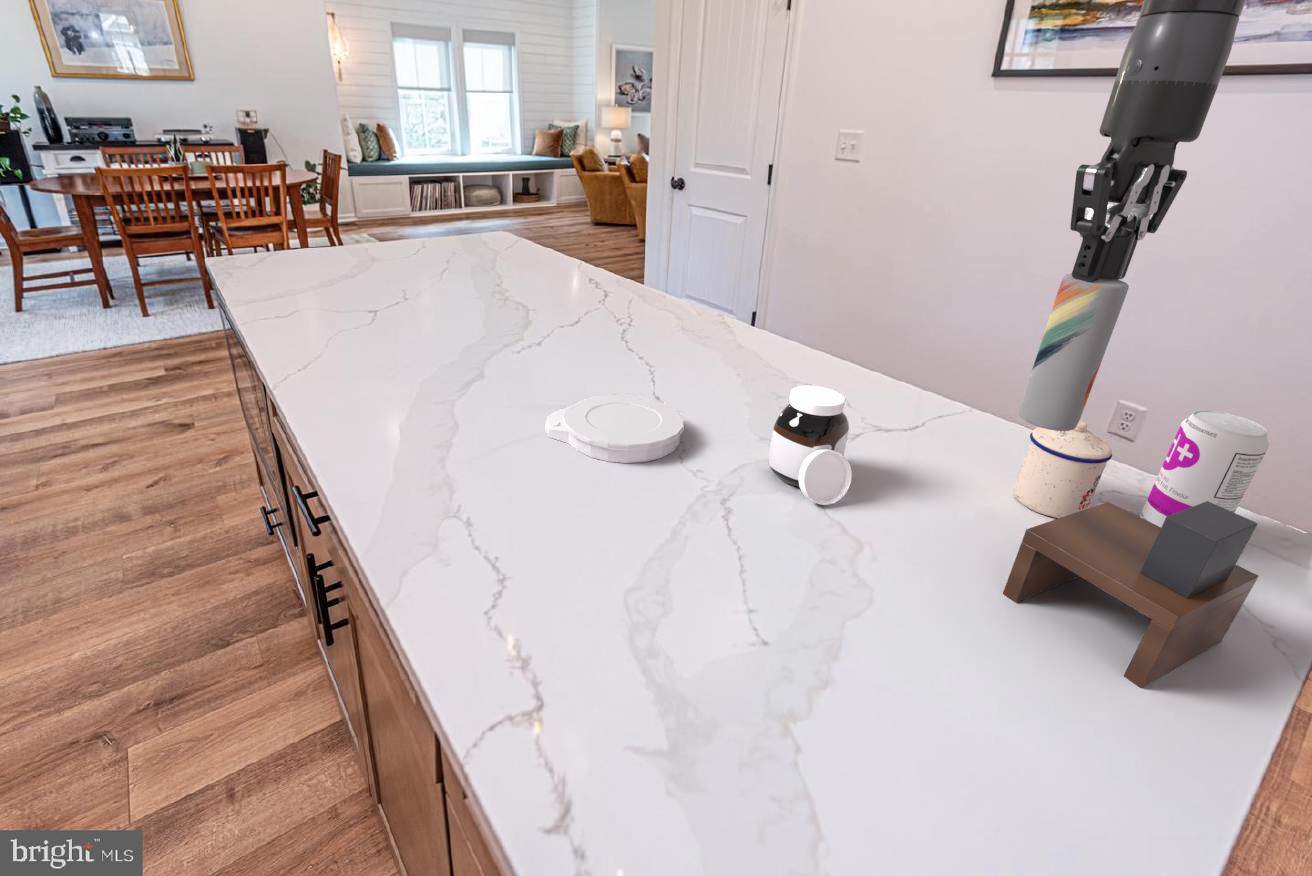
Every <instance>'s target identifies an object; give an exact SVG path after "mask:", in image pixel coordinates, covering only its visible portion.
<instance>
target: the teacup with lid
mask: <svg viewBox="0 0 1312 876" xmlns="http://www.w3.org/2000/svg"><path fill="white" fill-rule="evenodd" d="M1087 428H1088V424H1087V422H1085V420H1082V419H1080V420H1079V423H1078V425H1077V427H1076V428H1075V429H1073V430H1071V431H1055V430H1049V429H1045V428H1041V427H1038V426H1036V428H1034V429H1033V430H1032V431H1031V432H1030V434H1029V438H1030V441H1029V444H1028V446H1027V449H1026V452H1025V455H1024V459H1023V461H1022V463H1021V466H1020V470H1019V473H1018V474H1017V475H1018V476H1017V479H1016V481H1015V484H1014V487H1013V495H1014V498H1015V499H1016V500H1017V501H1018V502H1019V503H1020V504H1021V505H1023V506H1024V507H1026V508H1027V509H1029V510H1030V511H1033V512H1036V513H1038V514H1039V515H1043V516H1047V517H1050V518H1053V519H1054V518H1055V519H1058V518H1061V517H1064V516H1067V515H1070V514H1073V513H1076V512H1079V511H1082V510H1085V509H1088V508H1090V505H1091V502H1092V500H1093V498H1094V496H1095V492H1096V490H1097V488H1098V485H1099V483H1100V481H1101V478H1102V475H1103V473H1104V471H1105V468H1106V466H1107V463H1108V462H1110V460H1112V457H1113V450H1112V448H1111V446H1110V444H1109V443H1108V442H1107V441H1105V440H1104V439H1102V438H1100V437H1098V436H1097V435H1095V434H1094V433H1093V432H1091V431H1090V430H1089V429H1087Z"/></svg>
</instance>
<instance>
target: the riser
mask: <svg viewBox="0 0 1312 876" xmlns="http://www.w3.org/2000/svg"><path fill="white" fill-rule="evenodd" d="M1160 529H1161V527H1159V526H1157V525H1155V524H1153V523H1151V522H1149V521H1147V520H1144V519H1142V518H1141V517H1140V516H1138V515H1136V514H1134V513H1132V512H1130V511H1128V510H1127V509H1124V508H1122V507H1121V506H1118V505H1116V504H1114V503H1112V502H1110V501H1105V502H1102V503H1100V504H1097V505H1094V506H1091V507H1088V509H1085V510H1082V511H1079V512H1076V513H1073V514H1070V515H1067V516H1064V517H1061V518H1055V519H1053V520H1049V521H1046V522H1044V523H1041V524H1038V525H1035V526H1032V527H1029V528H1026V530H1025V531H1024V535H1023V537H1022V540H1021V542H1020V545H1019V546H1020V547H1019V548H1018V551H1017V554H1016V557H1015V559H1014V561H1013V563H1012V564H1013V565H1012V567H1011V570H1010V573H1009V575H1008V579H1007V580H1006V583H1005V587H1004V589H1003V591H1002V595H1004V597H1005V596H1006V597H1007V598H1008V599H1010V600H1011V601H1012V602H1014V603H1019V602H1021V601H1024V600H1026V599H1029V598H1031V597H1034V596H1036V595H1039V594H1041V593H1044V592H1046V591H1049V590H1050V589H1053V588H1055V587H1056V588H1057V587H1058V586H1061V585H1063V584H1066V583H1067V582H1070V581H1072V580H1075V579H1077V578H1082V579H1083V580H1085V581H1087V582H1089V583H1090V584H1091V585H1094V586H1095V587H1096V588H1099V589H1100V590H1101V591H1104V592H1105V593H1107V594H1109V595H1110V596H1112V597H1114V598H1115V599H1117V600H1118V601H1119V602H1122V603H1123V604H1125V605H1126V606H1129V607H1130V608H1132V609H1133V610H1135V611H1137V612H1138V613H1140V614H1142V615H1143V616H1144V617H1145V616H1146V618H1149V619H1150V621H1149V624H1148V626H1147V628H1146V630H1145V632H1144V634H1143V636H1142V638H1141V640H1140V642H1139V644H1138V646H1137V648H1136V650H1135V652H1134V654H1133V656H1132V657H1131V660H1130V662H1129V664H1128V666H1127V668H1126V670H1125V672H1124V674H1123V677H1124V678H1126V679H1127V680H1129V681H1130V682H1131V683H1133V684H1134V685H1136V686H1138V687H1139V688H1141V689H1142V688H1145V687H1146V686H1148V685H1149V684H1151V683H1153V682H1155V681H1156V680H1159V679H1160V678H1161V677H1163V676H1165V675H1167V674H1168V673H1170V672H1172V671H1173V670H1175V669H1177V668H1179V667H1180V666H1182V665H1184V664H1186V663H1188V662H1189V661H1191V660H1193V659H1195V658H1196V657H1198V656H1200V655H1202V654H1204V653H1205V652H1207V651H1209V650H1210V649H1212V648H1214V647H1215V646H1218V645H1219V644H1220V643H1222V642H1223V640H1224V638H1225V637H1226V635H1227V633H1228V631H1229V629H1231V626H1232V624H1233V622H1234V621H1235V619H1236V618H1237V615H1238V613H1239V612H1240V610H1241V609H1242V606H1244V603H1245V601H1246V599H1247V598H1248V596H1249V594H1250V593H1251V591H1252V589H1253V588H1254V586H1255V584H1256V582H1257V580H1258V578H1259V576H1260V575H1258V574H1256V573H1254V572H1252V571H1250V570H1248V569H1246V568H1244V567H1242V566H1240V565H1238V564H1236V565H1235V567H1234V568H1233V570H1232V572H1231V574H1230V576H1229V578H1228V579H1226V580H1224V581H1222V582H1220V583H1218V584H1216V585H1214V586H1212V587H1210V588H1208V589H1206V590H1204V591H1202V592H1200V593H1198V594H1196V595H1194V596H1192V597H1190V598H1186V597H1184V596H1182V595H1180V594H1178V593H1177V592H1175V591H1173V590H1171V589H1169V588H1168V587H1166V586H1164V585H1162V584H1160V583H1158V582H1157V581H1155V580H1153V579H1151V578H1149V577H1148V576H1146V575H1144V574H1142V573H1141V570H1142V568H1143V565H1144V563H1145V561H1146V559H1147V557H1148V555H1149V553H1150V551H1151V548H1152V546H1153V544H1154V542H1155V540H1156V538H1157V536H1158V534H1159V531H1160Z"/></svg>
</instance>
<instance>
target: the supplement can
mask: <svg viewBox="0 0 1312 876" xmlns="http://www.w3.org/2000/svg"><path fill="white" fill-rule="evenodd" d="M1268 433H1269V430H1268V429H1267V428H1266V427H1265V426H1263V425H1261V424H1260V423H1258V422H1256V421H1253V420H1252V419H1249V418H1246V417H1242V416H1239V415H1236V414H1232V413H1228V412H1224V411H1219V410H1211V409H1210V410H1209V409H1197V410H1194V411H1193V412H1192V414H1191V415H1189V416H1187V417H1186V418H1185V419H1184V420H1182V421H1181V423H1180V426H1179V427H1178V430H1177V432H1176V435H1175V437H1174V439H1173V441H1172V444H1171V445H1170V448H1169V450H1168V452H1167V453H1166V456H1165V458H1164V460H1163V463H1162V466H1161V468H1160V470H1159V473H1158V474H1157V476H1156V479H1155V481H1154V484H1153V485H1152V488H1151V490H1150V493H1149V495H1148V497H1147V498H1146V501H1145V504H1144V506H1143V508H1142V510H1141V512H1140V515H1139V517H1140V518H1142V519H1144V520H1147V521H1149V522H1151V523H1153V524H1155V525H1157V526H1159V527H1162V525H1163V523H1164V521H1165V519H1166V517H1167V516H1170V515H1172V514H1175V513H1178V512H1180V511H1183V510H1185V509H1188V508H1191V507H1193V506H1196V505H1198V504H1201V503H1204V502H1206V501H1208V502H1211V503H1213V504H1215V505H1218V506H1220V507H1222V508H1224V509H1227V510H1229V511H1231V512H1233V513H1236V511H1237V509H1238V507H1239V505H1240V503H1241V502H1242V499H1243V498H1244V496H1245V493H1246V491H1247V490H1248V488H1249V485H1250V484H1251V482H1252V480H1253V479H1254V476H1255V474H1256V472H1257V471H1258V469H1259V467H1260V465H1261V463H1262V461H1263V460H1264V457H1265V456H1266V453H1267V452H1268V449H1269V446H1270V445H1269V444H1270V443H1269V439H1268Z"/></svg>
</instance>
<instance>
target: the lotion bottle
mask: <svg viewBox="0 0 1312 876" xmlns="http://www.w3.org/2000/svg"><path fill="white" fill-rule="evenodd" d="M1135 237H1136V233H1131V232H1130V231H1129V230H1126V229H1124V228H1120V227H1117V229H1116V231H1115V233H1114V235H1113V237H1112V239H1111V240H1110V241H1109V243H1110V246H1109V249H1108V252H1107V255H1106V257H1105V260H1104V263H1103V266H1102V269H1101V272H1100V275H1099V278H1098V279H1097V280H1096V281H1093V282H1086V281H1082V280H1078V279H1074V278H1073V277H1072V272H1071V273H1065V274H1064V275H1063V277H1062V279H1061V281H1060V283H1059V287H1058V289H1057V293H1056V295H1055V298H1054V301H1053V305H1052V308H1051V311H1050V313H1049V317H1048V320H1047V323H1046V326H1045V329H1044V332H1043V336H1042V338H1041V342H1040V344H1039V347H1038V351H1037V354H1036V357H1035V360H1034V363H1033V366H1032V369H1031V372H1030V375H1029V378H1028V381H1027V384H1026V388H1025V390H1024V394H1023V396H1022V400H1021V403H1020V407H1019V410H1018V415H1019V417H1020V418H1021V419H1022V420H1023V421H1024V422H1026V423H1028V424H1030V425H1033V426H1035V427H1041V428H1045V429H1049V430H1055V431H1071V430H1073V429H1075V428H1076V427H1077V425H1078V423H1079V420H1081V418H1082V416H1083V412H1084V411H1085V408H1086V405H1087V403H1088V399H1089V397H1090V394H1091V392H1092V390H1093V386H1094V383H1095V382H1096V381H1095V380H1096V379H1097V375H1098V373H1099V370H1100V367H1101V365H1102V362H1103V359H1104V356H1105V354H1106V351H1107V348H1108V347H1109V346H1108V345H1109V343H1110V340H1111V338H1112V335H1113V333H1114V329H1115V326H1116V325H1117V322H1118V320H1119V319H1118V318H1119V316H1120V313H1121V311H1122V307H1123V305H1124V302H1125V300H1126V297H1127V294H1128V292H1129V287H1130V285H1129V284H1128V283H1127V282H1126V281H1123V280H1122V279H1120V278H1121V277H1122V274H1123V271H1124V269H1125V266H1126V263H1127V260H1128V257H1129V254H1130V251H1131V248H1132V246H1133V243H1134V240H1135ZM1118 279H1119V280H1118Z"/></svg>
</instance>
